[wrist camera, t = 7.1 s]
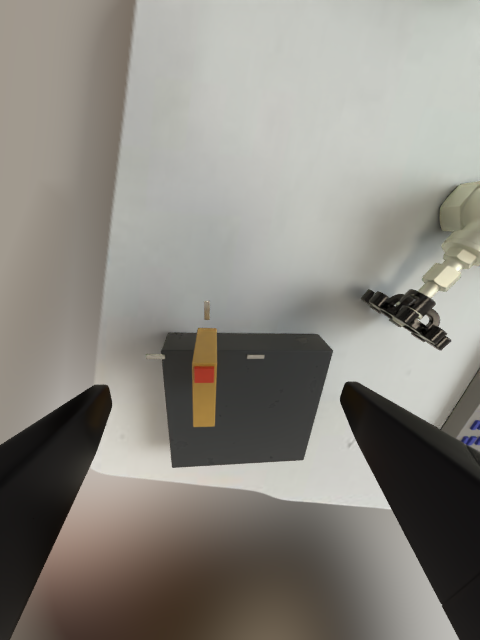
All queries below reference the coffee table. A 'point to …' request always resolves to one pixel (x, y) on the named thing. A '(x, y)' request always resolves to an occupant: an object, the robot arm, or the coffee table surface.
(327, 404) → the coffee table surface
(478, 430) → the remote control
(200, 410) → the tap handle
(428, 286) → the valve
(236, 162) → the coffee table surface
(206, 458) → the panel
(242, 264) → the coffee table surface
